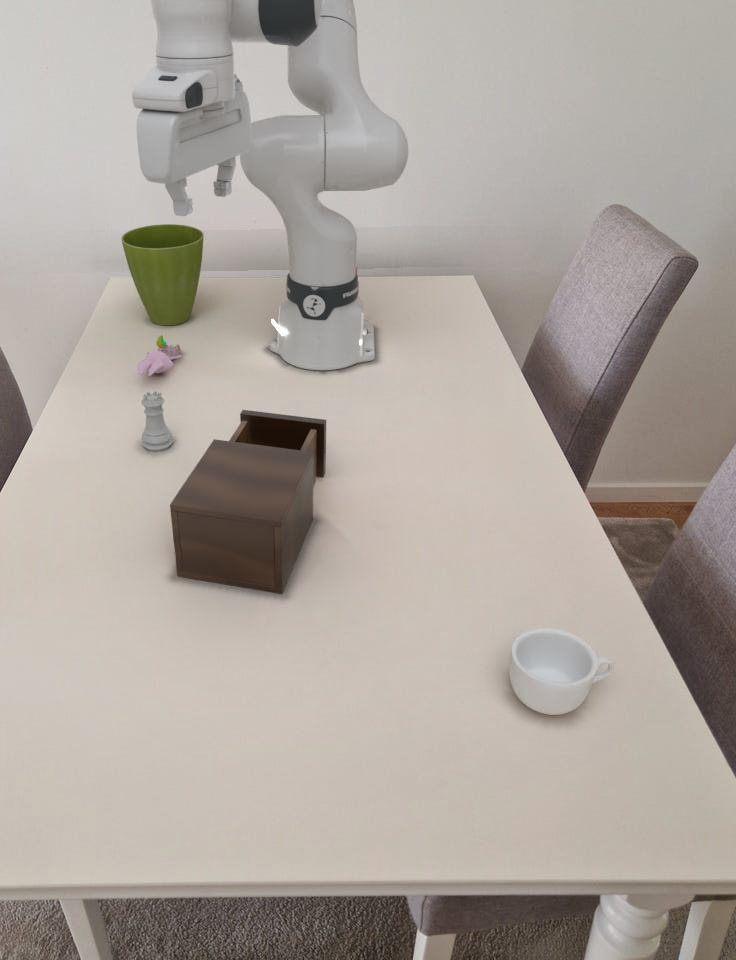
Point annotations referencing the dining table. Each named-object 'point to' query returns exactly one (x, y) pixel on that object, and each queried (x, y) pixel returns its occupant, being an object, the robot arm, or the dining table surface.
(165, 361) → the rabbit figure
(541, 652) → the teacup
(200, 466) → the cabinet
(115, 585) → the dining table surface
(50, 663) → the dining table surface
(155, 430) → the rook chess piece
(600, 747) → the dining table surface
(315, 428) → the drawer
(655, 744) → the dining table surface
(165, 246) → the flower pot
